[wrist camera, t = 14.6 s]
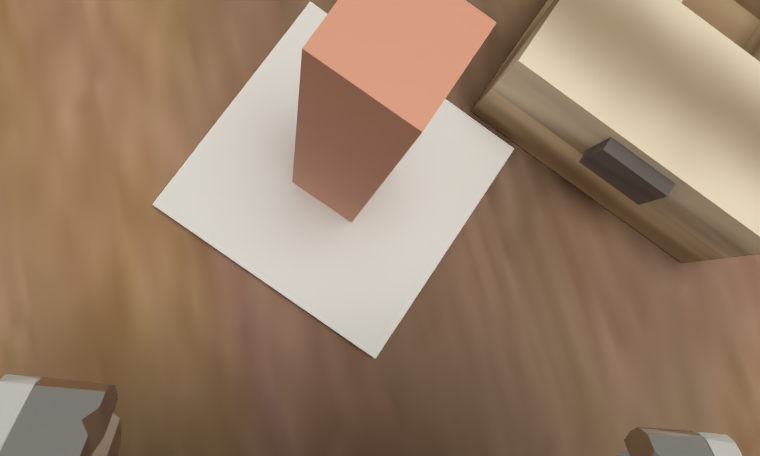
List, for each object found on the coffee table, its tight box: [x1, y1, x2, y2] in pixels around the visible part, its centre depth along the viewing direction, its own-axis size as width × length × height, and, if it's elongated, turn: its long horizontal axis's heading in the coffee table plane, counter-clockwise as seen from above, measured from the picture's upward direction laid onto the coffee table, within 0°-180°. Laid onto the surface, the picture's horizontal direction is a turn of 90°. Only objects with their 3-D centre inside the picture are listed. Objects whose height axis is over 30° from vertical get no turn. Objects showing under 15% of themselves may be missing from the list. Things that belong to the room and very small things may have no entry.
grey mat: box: [152, 2, 514, 359], centre depth 28 cm, size 11×11×1 cm
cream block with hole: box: [471, 0, 760, 263], centre depth 28 cm, size 17×12×6 cm
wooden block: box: [292, 0, 497, 223], centre depth 20 cm, size 3×3×14 cm
